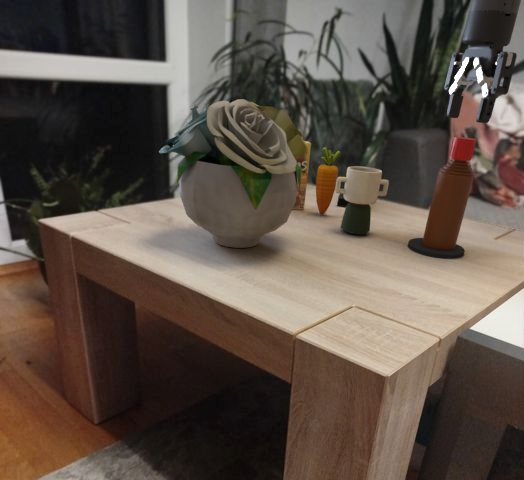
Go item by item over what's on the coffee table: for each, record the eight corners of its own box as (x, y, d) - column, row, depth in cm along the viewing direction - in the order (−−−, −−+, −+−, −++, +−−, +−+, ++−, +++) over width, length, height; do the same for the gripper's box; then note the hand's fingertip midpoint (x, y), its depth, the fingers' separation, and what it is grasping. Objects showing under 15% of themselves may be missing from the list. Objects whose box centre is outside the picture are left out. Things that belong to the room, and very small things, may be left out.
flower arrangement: (236, 275, 80) (245, 104, 68) (142, 236, 94) (136, 90, 82) (328, 247, 96) (348, 106, 84) (236, 218, 110) (242, 94, 99)
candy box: (268, 209, 120) (274, 140, 113) (265, 205, 124) (270, 138, 117) (304, 210, 122) (312, 142, 115) (300, 206, 126) (307, 140, 118)
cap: (454, 160, 90) (459, 138, 89) (445, 156, 94) (450, 136, 92) (475, 161, 91) (480, 140, 89) (464, 158, 94) (470, 137, 93)
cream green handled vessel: (374, 229, 111) (386, 167, 105) (383, 238, 105) (396, 174, 98) (326, 226, 110) (334, 164, 104) (332, 236, 104) (341, 170, 97)
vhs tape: (367, 198, 140) (369, 191, 139) (366, 209, 128) (367, 201, 127) (341, 195, 141) (342, 188, 140) (336, 206, 129) (338, 198, 128)
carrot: (335, 215, 120) (345, 148, 112) (326, 219, 116) (336, 150, 109) (317, 211, 122) (325, 145, 115) (307, 215, 118) (315, 147, 111)
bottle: (445, 241, 104) (470, 140, 94) (461, 250, 98) (489, 145, 89) (416, 240, 102) (439, 138, 93) (431, 250, 97) (457, 143, 88)
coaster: (449, 242, 106) (450, 238, 106) (474, 259, 96) (475, 255, 96) (399, 240, 104) (400, 236, 104) (419, 257, 95) (420, 253, 95)
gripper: (447, 12, 86) (426, 115, 94) (504, 4, 74) (474, 123, 82) (483, 16, 88) (459, 117, 96) (544, 9, 76) (511, 125, 84)
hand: (466, 120), depth 89 cm, fingers open, 8 cm apart
